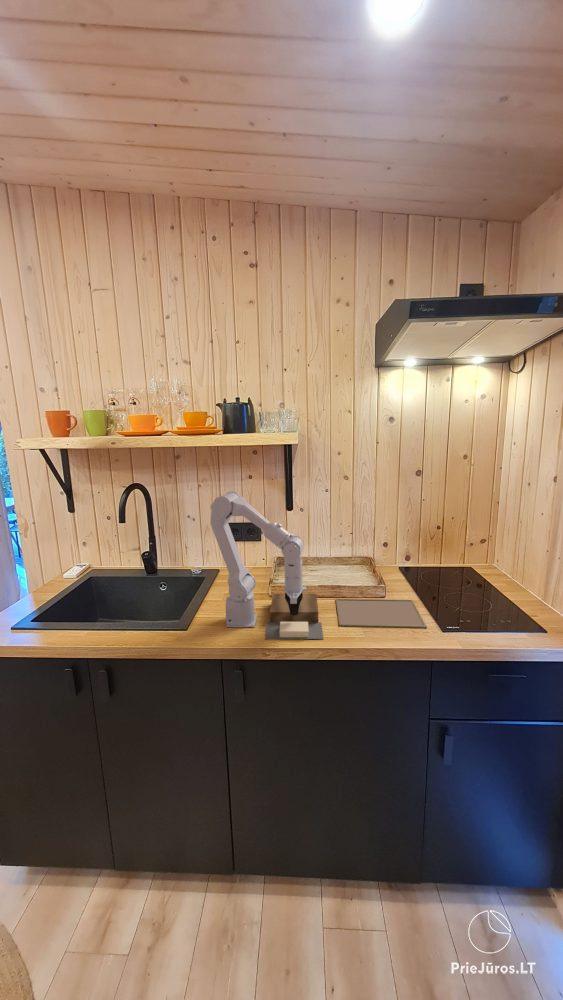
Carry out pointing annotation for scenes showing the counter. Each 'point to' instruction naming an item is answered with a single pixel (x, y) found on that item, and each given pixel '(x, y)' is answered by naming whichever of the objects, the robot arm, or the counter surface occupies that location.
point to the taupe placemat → (378, 613)
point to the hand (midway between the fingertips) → (294, 614)
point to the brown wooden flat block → (305, 612)
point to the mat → (274, 633)
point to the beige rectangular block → (294, 629)
